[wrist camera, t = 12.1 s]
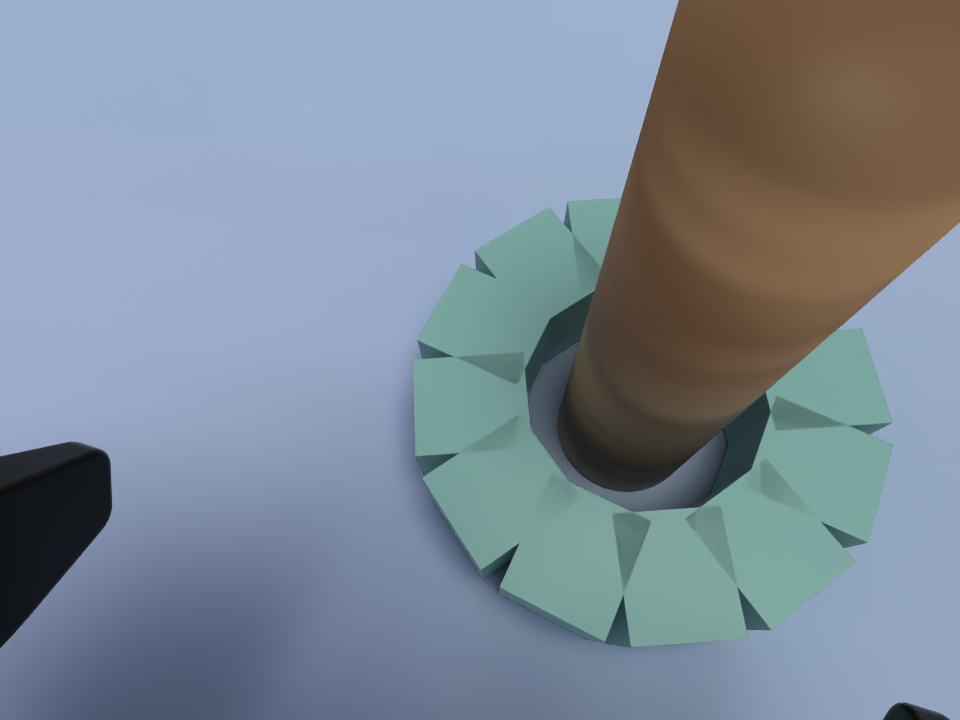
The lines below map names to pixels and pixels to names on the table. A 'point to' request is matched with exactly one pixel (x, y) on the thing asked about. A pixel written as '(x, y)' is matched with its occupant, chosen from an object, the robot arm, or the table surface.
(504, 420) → the teal bead
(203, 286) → the table surface
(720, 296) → the walnut peg
